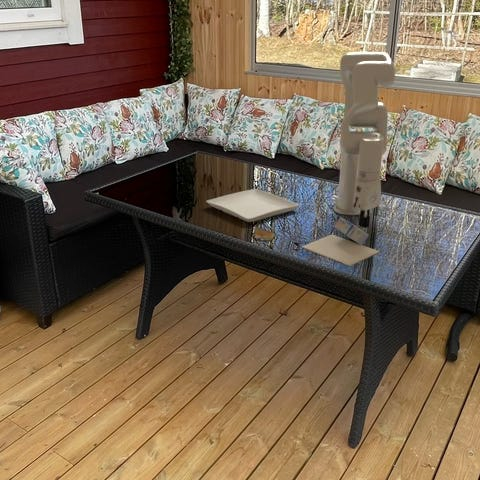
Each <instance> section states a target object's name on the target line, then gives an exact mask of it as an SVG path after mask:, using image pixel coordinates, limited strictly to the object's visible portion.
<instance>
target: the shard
mask: <svg viewBox="0 0 480 480" xmlns="http://www.w3.org/2000/svg"><path fill="white" fill-rule="evenodd" d="M253 236H255V237H254V238H260V239H268V240H267V241H269V240H270V241H272V240H273V238H275V237H276V236H277V234H276V233H275V232H273V231H270V230H268V229H265V228H262V227H259V226H256V225H255V230H254V234H253Z"/></svg>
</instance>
